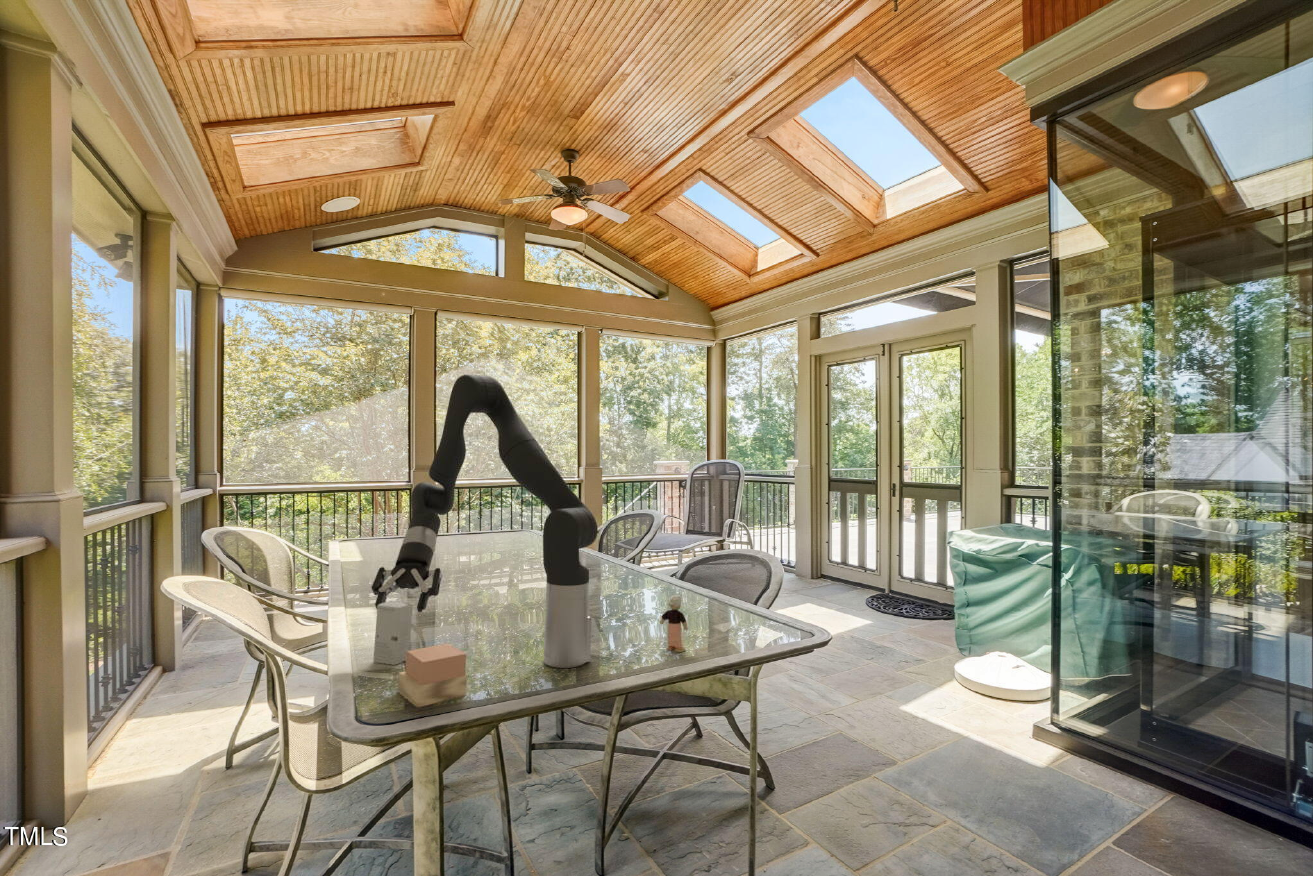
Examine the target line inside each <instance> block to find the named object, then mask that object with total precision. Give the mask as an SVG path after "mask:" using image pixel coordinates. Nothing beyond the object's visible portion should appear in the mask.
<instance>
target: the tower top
mask: <svg viewBox="0 0 1313 876" xmlns="http://www.w3.org/2000/svg"><path fill="white" fill-rule="evenodd" d="M466 663H467V653H466V652H464V651H462V650H460V649H459V648H457V647H455V646H454V645H452V644H450V643H444V644H439V645H438V644H437V645H432V646H426V647H421V648H416V649H411V650H410V649H409V651H406V661H405V670H404V671H405V673H406V674H408V675H409V676H410V677H412V678H413V679H414V680H416V681H417V682H418V683H420V684H421V685H426V684H430V683H435V682H439V681H444V680H448V679H453V678H457V677H462V676H465V675H466V669H467V668H466V667H467V666H466V665H467V664H466Z"/></svg>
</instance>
